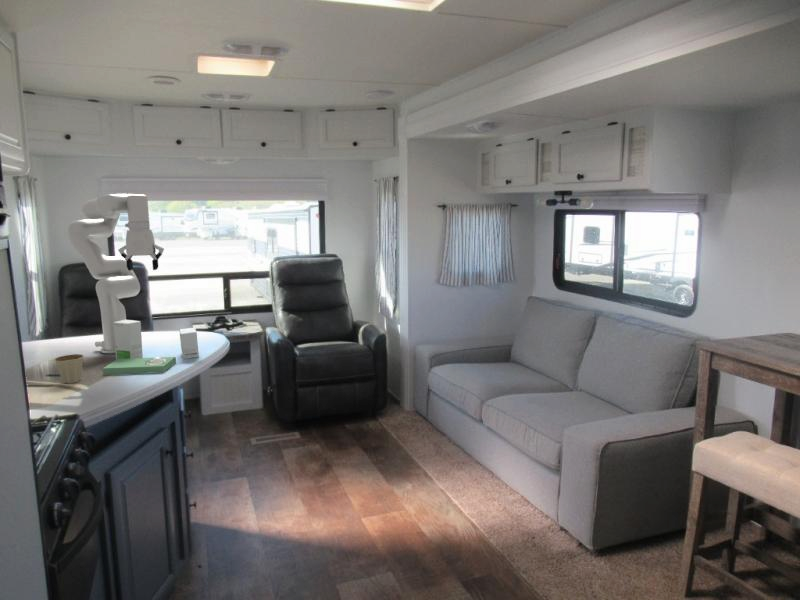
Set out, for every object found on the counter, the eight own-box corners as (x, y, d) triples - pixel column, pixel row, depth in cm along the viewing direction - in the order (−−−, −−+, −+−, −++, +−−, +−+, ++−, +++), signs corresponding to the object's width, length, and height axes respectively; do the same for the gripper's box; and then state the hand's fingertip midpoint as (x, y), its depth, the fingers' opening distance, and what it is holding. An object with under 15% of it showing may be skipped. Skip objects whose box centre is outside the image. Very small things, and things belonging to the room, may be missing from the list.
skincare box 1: (115, 360, 246) (111, 322, 244) (128, 356, 252) (124, 319, 250) (132, 361, 243) (128, 323, 241) (144, 357, 249) (140, 320, 247)
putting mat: (103, 374, 225) (102, 368, 225) (118, 364, 239) (118, 358, 239) (164, 372, 226) (163, 366, 226) (176, 362, 240) (175, 356, 239)
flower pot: (66, 386, 211) (63, 362, 210) (51, 382, 216) (48, 359, 215) (92, 379, 219) (89, 355, 218) (77, 376, 224) (74, 353, 223)
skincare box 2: (181, 353, 255) (179, 328, 254) (197, 351, 258) (195, 327, 256) (182, 359, 246) (180, 333, 244) (199, 357, 248) (197, 331, 247)
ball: (148, 366, 231) (151, 355, 231) (153, 366, 235) (155, 356, 235) (159, 368, 231) (161, 358, 231) (163, 368, 235) (165, 358, 235)
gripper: (112, 227, 236) (116, 271, 239) (158, 226, 237) (161, 270, 240) (120, 226, 244) (124, 269, 247) (164, 225, 245) (168, 268, 247)
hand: (142, 269), depth 243 cm, fingers open, 9 cm apart
